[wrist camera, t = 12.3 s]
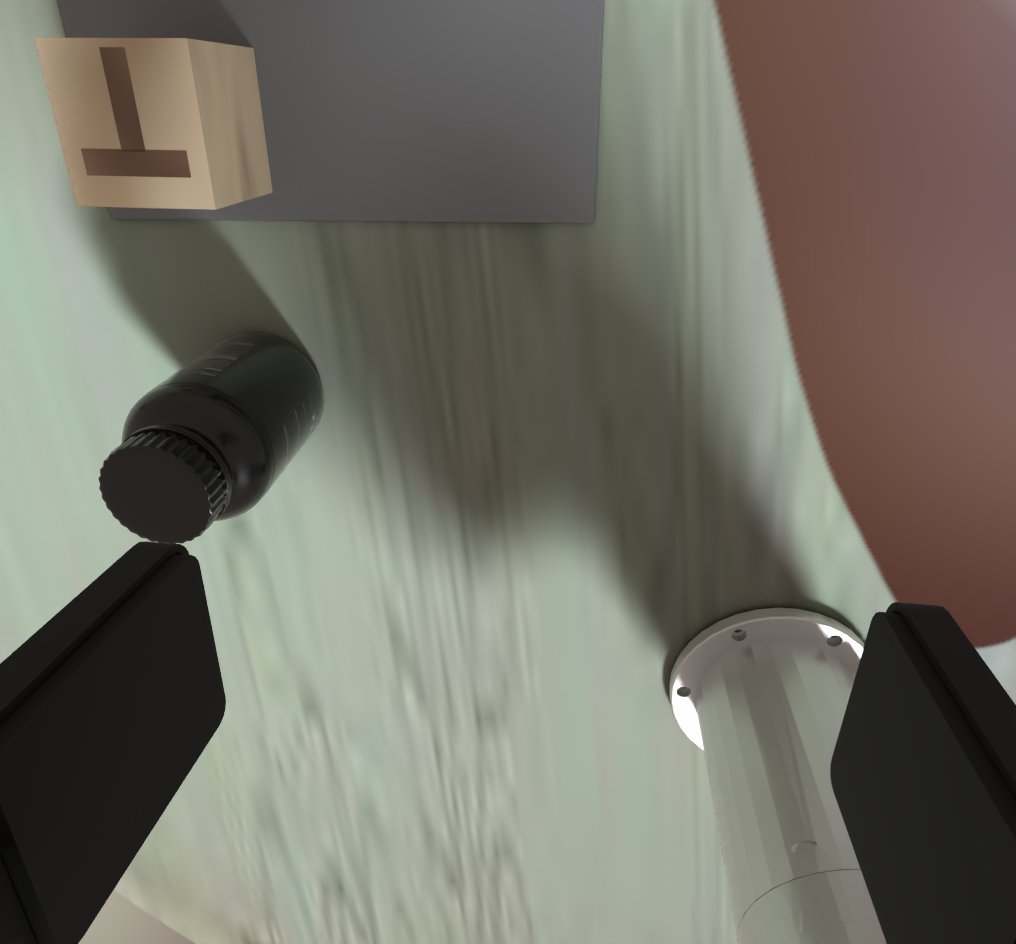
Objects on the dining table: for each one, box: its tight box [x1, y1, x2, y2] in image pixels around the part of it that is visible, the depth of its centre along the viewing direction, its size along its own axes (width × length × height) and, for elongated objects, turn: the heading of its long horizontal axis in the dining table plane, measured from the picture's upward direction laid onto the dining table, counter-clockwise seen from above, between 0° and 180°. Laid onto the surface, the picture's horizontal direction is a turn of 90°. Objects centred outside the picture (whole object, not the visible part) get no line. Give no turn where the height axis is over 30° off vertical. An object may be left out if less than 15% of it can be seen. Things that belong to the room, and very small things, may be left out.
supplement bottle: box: [99, 332, 323, 544], centre depth 35 cm, size 7×7×12 cm
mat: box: [57, 0, 604, 223], centre depth 31 cm, size 24×16×1 cm, turn 90°
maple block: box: [34, 38, 273, 210], centre depth 31 cm, size 6×6×6 cm
